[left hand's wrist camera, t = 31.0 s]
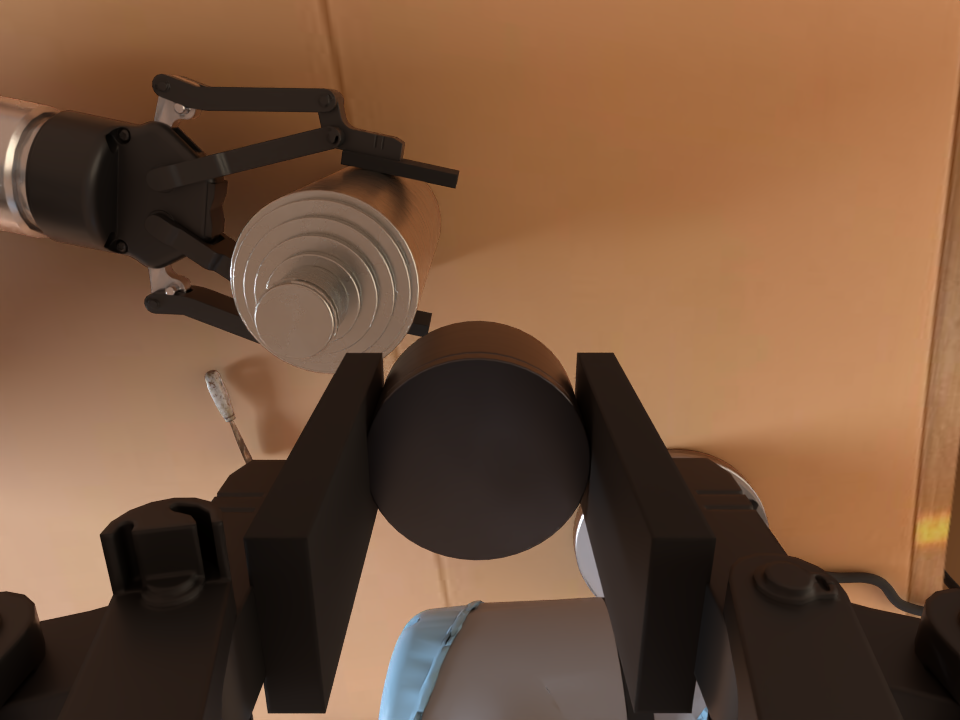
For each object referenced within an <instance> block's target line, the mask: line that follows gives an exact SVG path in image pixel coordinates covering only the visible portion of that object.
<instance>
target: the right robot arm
mask: <svg viewBox="0 0 960 720" xmlns="http://www.w3.org/2000/svg"><path fill="white" fill-rule="evenodd" d="M152 87H153V90H154V92H155V93H156V94H157V95H158V96H159V97H158V103H157V108H156V113H155V118H154V121H150V122H147V123H144V124H141V125H138V124H132V123H127V122H123V121H118V120H113V119H109V118H104V117H99V116H94V115H90V114H85V113H80V112H76V111H69V110H68V111H62V112H61V111H60V110H58V109H56V108H54V107H52V106H48V105H43V104H38V103H33V102H28V101H23V100H19V99H14V98H9V97H4V96H0V230H2V231H7V232H12V233H17V234H22V235H26V236H31V237H36V238H45V237H49V238H50V239H52V240H54V241H57V242H62V243H67V244H72V245H77V246H82V247H87V248H92V249H97V250H102V251H107V252H112V253H118V254H124V255H128V256H130V257H132V258H134V259H136V260H137V261H139V262H140V263H141V264H143V265H144V266H146V267H148V269H149V277H150V284H151V294H150V295H148V296H147V297H146V298H145V301H144V304H145V307H146V308H147V310H148V311H150V312H152V313H156V314H178V315H185V316H188V317H191V318H193V319H196V320H198V321H201V322H204V323H206V324H209V325H212V326H214V327H217V328H220V329H222V330H225V331H228V332H230V333H233V334H235V335H238V336H241V337H243V338H246V339H249V340H251V341H254V342H257V343H259V342H258V341H257V340H256V339H255V338H254V336H253V335H252V334H251V333H250V331H249V330H248V329H247V327H246V325H245V324H244V322H243V321H242V319H241V317H240V315H239V312H238V310H237V308H236V305H235V302H234V299H233V298H231V297H228V296H226V295H223V294H220V293H218V292H215V291H213V290H210V289H207V288H204V287H199V286H192V285H191V284H190V280H189V279H188V278H186V277H184V276H181V275H178V274H176V273H175V272H174V271H173V269H172V266H171V264H172V263H175V262H177V261H179V260H181V259H183V258H185V257H188V258H190V259H191V260H193V261H194V262H196V263H197V264H199V265H200V266H202V267H204V268H205V269H208V270H212V271H215V272H217V273H219V274H220V275H222V276H223V277H225V278H226V279H228V280H229V281H230V268H231V259H232V255H233V251H234V247H235V245H236V242H235V241H234V240H233V239H231V238H230V237H228V236H227V235H225V234H224V233H222V232H224V220H225V219H224V214H223V209H222V205H223V202H224V199H225V196H226V194H227V181H226V180H224V177H223V176H225V175H229V174H233V173H237V172H241V171H245V170H249V169H253V168H257V167H261V166H265V165H269V164H273V163H277V162H282V161H286V160H290V159H294V158H298V157H302V156H306V155H310V154H314V153H318V152H322V151H326V150H331V149H335V148H336V149H341V150H343V151H342V159H341V164H343V165H348V166H352V167H357V168H362V169H366V170H371V171H376V172H380V173H385V174H390V175H394V176H399V177H404V178H409V179H413V180H418V181H423V182H427V183H432V184H437V185H441V186H446V187H451V188H456V185H457V180H458V175H459V171H458V170H453V169H449V168H444V167H440V166H435V165H430V164H426V163H421V162H416V161H412V160H407V159H403V153H404V147H405V142H403V141H402V140H400V139H399V138H397V137H393V136H389V135H384V134H379V133H375V132H370V131H366V130H361V129H357V128H354V127H353V126H351V125H350V124H349V123H348V121H347V119H346V115H345V110H344V98H343V96H342V94H341V93H340V92H338V91H337V90H332V89H316V88H249V87H209V86H207V85H204V84H202V83H199V82H197V81H194V80H191V79H189V78H186V77H183V76H176V75H166V74H159V75H157V76H156V77H154V79H153V81H152ZM202 110H207V111H268V112H318V114H319V119H320V123H321V128H319V129H315V130H311V131H307V132H303V133H299V134H295V135H291V136H287V137H283V138H278V139H274V140H270V141H266V142H262V143H258V144H254V145H250V146H246V147H242V148H238V149H234V150H230V151H226V152H222V153H217V154H213V155H209V156H207V155H206V154H205V153H204V152H203V151H202V150H201V149H200V148H199V147H198V146H197V145H196V144H195V143H194V142H193V141H192V140H191V139H190V138H189V137H188V136H187V135H186V134H185V133H184V132H183V131H182V130H181V129H180V128H179V127H178V125H179V123H180V122H181V121H182V120H183V119H196V118H198V117H199V116H200V114H201V111H202ZM431 316H432V313H428V312H423V311H418V310H417V311H416V314H415V317H414V320H413V323H412V325H411V327H410V329H409V331H408V333H407V334H411V335H416V336H421V337H423V336H425V335H426V334H428V330H429V326H430V321H431ZM259 344H260V343H259Z"/></svg>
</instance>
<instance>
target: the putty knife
mask: <svg viewBox="0 0 960 720" xmlns="http://www.w3.org/2000/svg"><path fill="white" fill-rule="evenodd" d="M205 381H206V384H207V387H208V390H209V392H210V394H211V396H212V398H213V401H214V402H215V404H216V406H217V408H218V410H219V412H220V413H221V415H222V416H223V418H224V419H225V421H226V422H230V424H231V427H232V430H233V432H234V435H235V438H236V441H237V443H238V446H239V448H240V450H241V453H242V455H243V458H244V460H245V462H246V464H247V463H249V462H250V461H252V457H251V455H250V453H249V451H248V449H247V447H246V445H245V443H244V441H243V439H242V437H241V435H240V433H239V431H238V429H237V427H236V425H235V423H234V421H233V420H234V419H235V414H234V411H233V407H232V404H231V401H230V398H229V395H228V393H227V390H226V388H225V386H224V383H223V381H222V379H221V376H220V374H219V373H218V372H217V371H216V370H212V371H209V372H207V373H206V374H205Z"/></svg>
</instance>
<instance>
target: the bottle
mask: <svg viewBox="0 0 960 720" xmlns="http://www.w3.org/2000/svg"><path fill="white" fill-rule="evenodd" d="M440 229H441V218H440V211H439V206H438V203H437V200H436V198H435V196H434V194H433V192H432V190H431V189H430V187H429V186H428V184H427V183H426V182H423V181H418V180H413V179H409V178H404V177H399V176H394V175H390V174H385V173H380V172H376V171H371V170H366V169H362V168H357V167H352V166H348V167H346V168H344V169H341V170H339V171H337V172H335V173H333V174H330V175H328V176H326V177H324V178H322V179H319V180H317V181H315V182H313V183H311V184H308V185H306V186H304V187H302V188H300V189H297V190H295V191H293V192H291V193H289V194H286V195H284V196H282V197H280V198H278V199H276V200H274V201H272V202H270V203H269V204H267V205H266V206H264V207H263V208H262V209H260V210H259V211H258V212H257V213H256V214H255V215H254V216H253V217H252V218H251V219H250V220H249V222H248V223H247V224H246V225H245V227H244V228H243V230H242V232H241V234H240V235H239V237H238V240H237V242H236V245H235V247H234V251H233V255H232V259H231V268H230V281H231V289H232V295H233V299H234V302H235V305H236V308H237V310H238V312H239V315H240V317H241V319H242V321H243V322H244V324H245V325H246V327H247V329H248V330H249V331H250V333H251V334H252V335H253V336H254V338H255V339H256V340H257V341H258V342H259V343H260V344H261V345H262V346H263V347H264V348H265V349H267V350H268V351H269V352H270V353H272V354H273V355H274V356H276V357H278V358H279V359H281V360H283V361H284V362H286V363H288V364H291V365H293V366H295V367H298V368H301V369H304V370H307V371H312V372H317V373H328V374H335V372H336V370H337V368H338V367H339V365H340V363H341V361H342V359H343V358H344V356H345V354H346V353H382V355H383V358H384V357H386V356H387V355H388V354H389V353H391V352H392V351H393V350H394V349H395V348H396V347H397V346H398V345H399V344H400V342H401V341H402V340H403V338H404V337H405V335H406V334H407V333H408V331H409V329H410V327H411V325H412V323H413V320H414V317H415V314H416V311H417V308H418V305H419V302H420V298H421V295H422V292H423V289H424V285H425V282H426V279H427V276H428V272H429V269H430V266H431V263H432V259H433V256H434V253H435V250H436V246H437V243H438V240H439V235H440Z"/></svg>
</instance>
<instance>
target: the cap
mask: <svg viewBox="0 0 960 720" xmlns="http://www.w3.org/2000/svg"><path fill="white" fill-rule="evenodd" d="M367 449H368V465H369V481H370V493H371V496H372V498H373V500H374V502H375V504H376V505H377V507H378V509H379V510H380V512H381V513H382V514H383V516H384V517H385V518H386V520H387V521H388V522H389V523H390V524H391V525H392V526H393V527H394V528H395V529H396V530H397V531H398V532H399V533H401V534H402V535H403V536H405V537H406V538H407V539H409V540H410V541H412V542H414V543H415V544H417V545H419V546H420V547H422V548H425V549H427V550H429V551H432V552H434V553H437V554H441V555H444V556H447V557H452V558H458V559H466V560H490V559H497V558H503V557H507V556H511V555H515V554H518V553H520V552H523V551H526V550H528V549H530V548H532V547H534V546H536V545H538V544H540V543H542V542H543V541H545V540H546V539H547V538H549V537H550V536H552V535H553V534H554V533H555V532H556V531H558V530H559V529H560V528H561V527H562V526H563V525H564V524H565V523H566V522H567V520H568V519H569V518H570V517H571V516H572V514H573V513H574V511H575V510H576V508H577V507H578V505H579V503H580V501H581V499H582V497H583V495H584V493H585V490H586V487H587V484H588V481H589V475H590V469H591V449H590V441H589V437H588V434H587V430H586V427H585V424H584V421H583V418H582V415H581V412H580V409H579V406H578V403H577V400H576V397H575V394H574V391H573V388H572V385H571V382H570V380H569V378H568V376H567V373H566V371H565V370H564V368H563V366H562V365H561V363H560V362H559V360H558V359H557V358H556V357H555V355H554V354H553V353H552V352H551V351H550V350H549V349H548V348H547V347H546V346H545V345H543V344H542V343H541V342H540V341H538V340H537V339H535V338H534V337H532V336H531V335H529V334H527V333H525V332H523V331H521V330H519V329H516V328H514V327H511V326H508V325H504V324H500V323H495V322H486V321H468V322H461V323H455V324H451V325H448V326H444V327H441V328H439V329H436V330H434V331H432V332H430V333H428V334H426V335H425V336H423V337H421V338H420V339H418V340H417V341H416V342H414V343H413V344H412V345H411V346H409V347H408V348H407V349H406V350H405V351H404V352H403V353H402V355H401V356H400V357H399V358H398V359H397V361H396V362H395V364H394V365H393V367H392V368H391V370H390V372H389V374H388V376H387V378H386V381H385V384H384V387H383V390H382V392H381V395H380V398H379V401H378V404H377V407H376V409H375V412H374V415H373V418H372V421H371V424H370V426H369V429H368V432H367Z"/></svg>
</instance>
